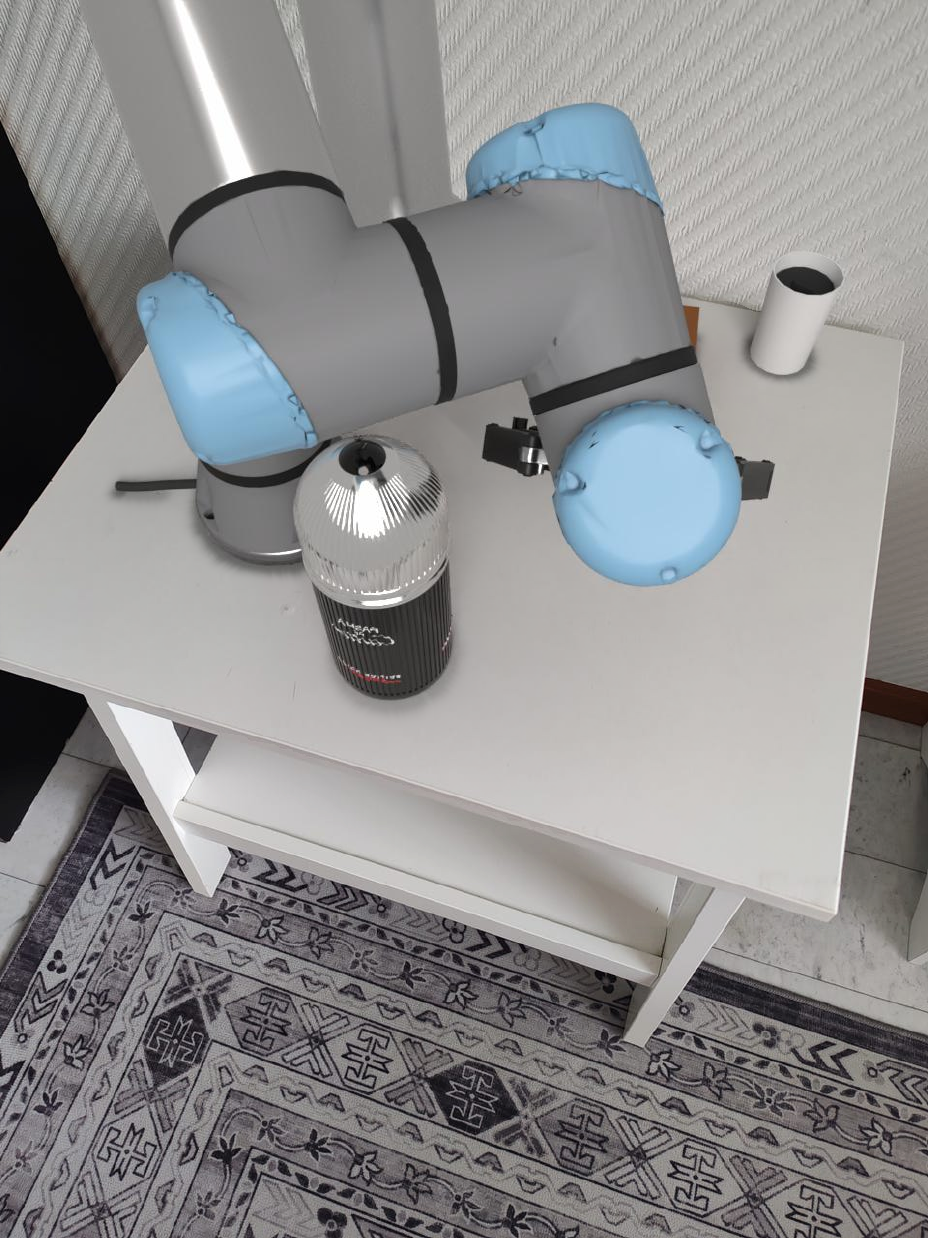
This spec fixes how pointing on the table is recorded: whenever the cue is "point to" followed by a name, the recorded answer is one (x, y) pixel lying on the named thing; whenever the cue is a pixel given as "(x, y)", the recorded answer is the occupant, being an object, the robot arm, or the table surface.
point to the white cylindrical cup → (795, 310)
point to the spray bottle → (378, 563)
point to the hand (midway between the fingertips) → (621, 455)
